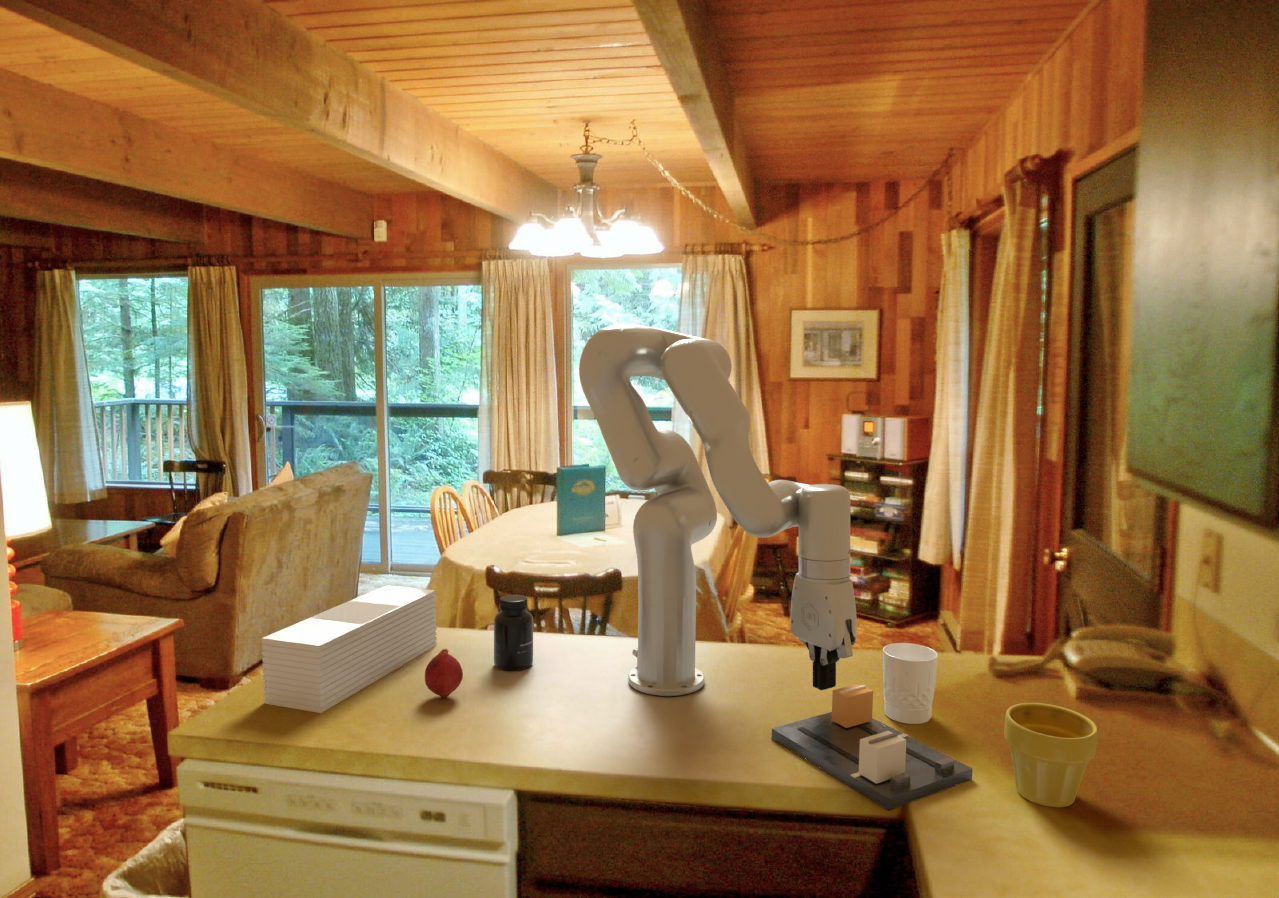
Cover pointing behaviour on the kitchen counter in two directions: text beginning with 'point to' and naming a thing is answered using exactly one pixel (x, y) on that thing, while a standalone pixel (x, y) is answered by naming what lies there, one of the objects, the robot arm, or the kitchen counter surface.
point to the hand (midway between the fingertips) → (824, 686)
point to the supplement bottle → (513, 634)
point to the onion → (443, 674)
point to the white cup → (909, 682)
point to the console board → (841, 759)
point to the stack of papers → (347, 647)
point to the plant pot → (1049, 751)
